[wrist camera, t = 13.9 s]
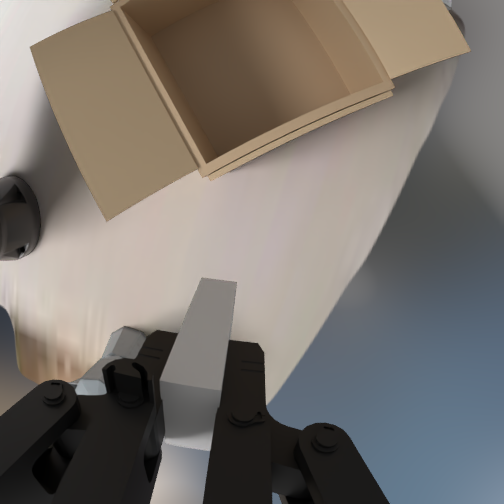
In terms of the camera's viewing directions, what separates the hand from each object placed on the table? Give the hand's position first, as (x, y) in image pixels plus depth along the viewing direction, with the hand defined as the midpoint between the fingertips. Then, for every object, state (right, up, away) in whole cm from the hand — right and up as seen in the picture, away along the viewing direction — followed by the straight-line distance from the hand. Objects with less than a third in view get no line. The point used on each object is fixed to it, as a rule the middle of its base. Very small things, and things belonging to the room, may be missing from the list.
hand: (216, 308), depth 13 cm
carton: (+1, +28, +23) cm, 36 cm away
